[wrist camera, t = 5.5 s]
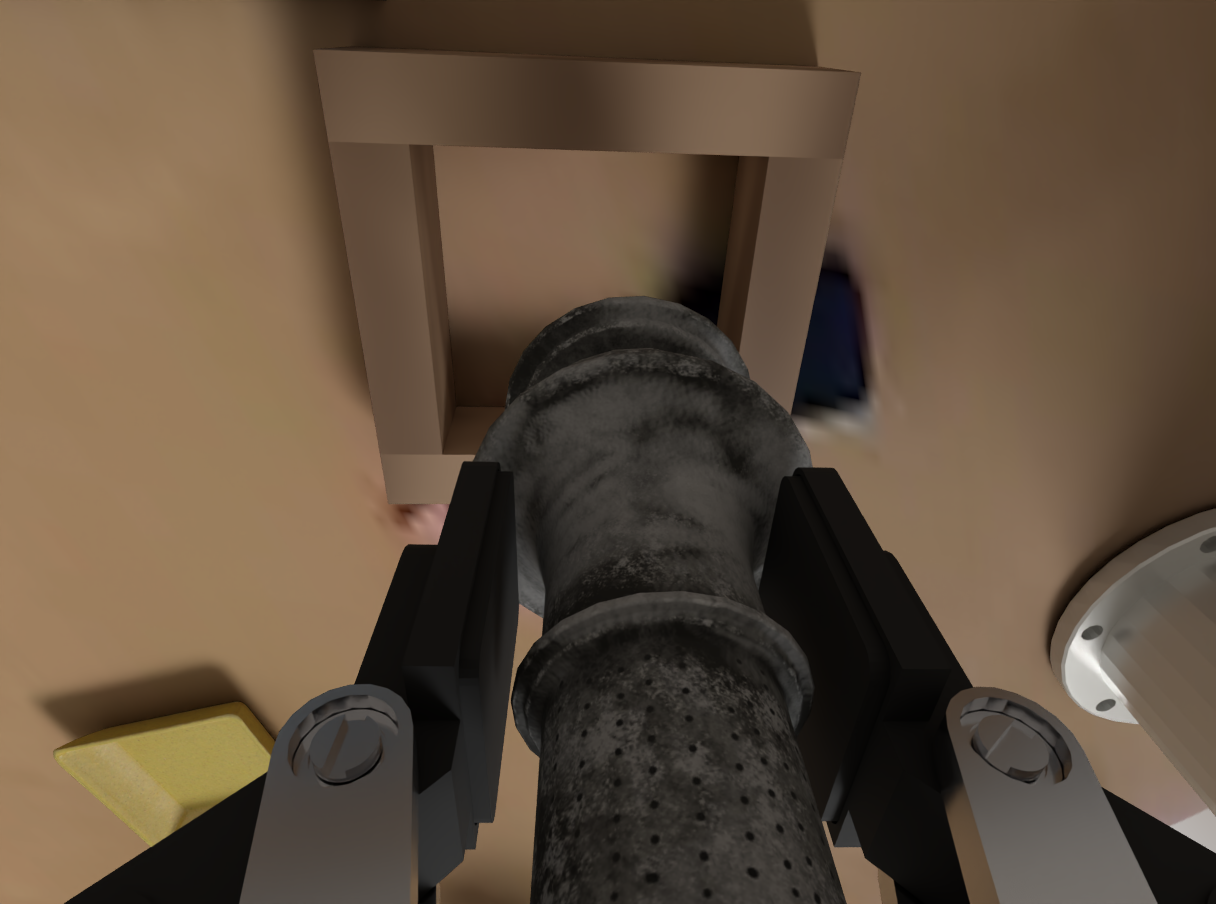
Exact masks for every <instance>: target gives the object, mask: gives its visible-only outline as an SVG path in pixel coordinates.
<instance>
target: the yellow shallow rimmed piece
mask: <svg viewBox="0 0 1216 904" xmlns="http://www.w3.org/2000/svg"><path fill="white" fill-rule="evenodd" d="M274 744H275V741H274V739H273V738H272V737H271V736H270V734H269V733H268V732H267V731H266V729H265V728H264V727H263V726H262V724H261V723H260V722H259V721H258V719H257V718H256V717H255V716H254V714H253V713H252V712H251V711H250V710H249V708H248V707H247V706H246V705H245V704H244V703H242V702H231V703H226V704H221V705H216V706H211V707H207V708H202V709H197V710H192V711H187V712H182V713H178V714H173V715H168V716H163V717H158V718H154V719H149V720H144V721H139V722H135V723H130V724H125V725H120V726H115V727H110V728H107V729H104V730H100V731H97V732H94V733H92V734H89V735H86V736H83V737H81V738H78V739H76V740H74V741H72V742H69V743H67V744H65V745H63V746H61V747H59V748H57V749H55V750H54V751H53V755H54V758H55V760H56V761H57V763H58V764H59V765H60V766H61V767H62V768H63V769H64V770H66V771H67V772H68V773H69V774H70V775H71V776H72V777H73V778H75V779H76V780H77V781H78V782H79V783H80V784H81V785H82V786H84V787H85V788H86V789H87V790H88V791H89V792H91V793H92V794H93V795H94V796H95V797H96V798H97V799H98V800H99V801H101V802H102V803H103V804H104V805H105V806H106V807H107V808H108V809H109V810H111V811H112V812H113V813H114V814H115V815H116V816H117V817H118V818H120V819H121V820H122V821H123V822H124V823H125V824H126V825H127V826H128V827H129V828H130V829H132V830H133V831H134V832H135V833H136V834H137V835H138V836H139V837H140V838H142V839H143V840H144V841H145V842H146V843H147V844H148V845H149V846H150V847H152V846H153V845H155V844H156V843H158V842H159V841H161V840H162V839H164V838H166V837H167V836H169V835H170V834H172V833H173V832H175V831H176V830H178V829H179V828H181V827H183V826H184V825H186V824H187V823H189V822H190V821H192V820H193V819H195V818H196V817H198V816H199V815H201V814H203V813H204V812H206V811H207V810H209V809H210V808H212V807H213V806H215V805H216V804H218V803H220V802H221V801H223V800H224V799H226V798H227V797H229V796H230V795H232V794H233V793H235V792H236V791H238V790H240V789H241V788H243V787H244V786H246V785H247V784H249V783H250V782H252V781H253V780H255V779H257V778H258V777H260V776H261V775H263V774H264V773H266V772H267V771H268V767H269V762H270V758H271V753H272V749H273V747H274Z"/></svg>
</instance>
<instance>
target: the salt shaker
mask: <svg viewBox="0 0 1216 904" xmlns="http://www.w3.org/2000/svg"><path fill="white" fill-rule="evenodd" d="M473 461H483V462H499V463H500V467H501V471H513V475H514V495H515V519H516V544H517V568H518V592H519V604H521V605H523V606H524V607H526V608H527V609H529V610H531V611H532V612H534V613H535V614H537V615H539V616H540V617H542V618H543V630H542V637H541V638H540V639H538V640H537V641H536V642H535V643H534V644H533V646H532V647H531V649H530V650H529V652H528V653H527V655H526V656H525V658H524V659H523V661H522V662H521V664H520V665H519V667H518V668H517V673H516V677H515V682H514V686H513V691H512V696H511V705H512V710H513V715H514V720H515V726H516V728H517V730H518V731H519V733H520V734H521V736H522V738H523V739H524V741H525V742H526V744H527V746H528V747H529V749H530V750H531V751H532V752H534V753H535V754H536V755H537V756H538V757H539V758H540V762H539V777H538V792H537V807H536V822H535V837H534V852H533V867H532V882H531V897H530V904H847V903H846V900H845V897H844V894H843V890H842V887H841V884H840V880H839V877H838V874H837V870H836V867H835V864H834V860H833V857H832V854H831V851H830V847H829V844H828V841H827V837H826V834H825V831H824V827H823V824H822V821H821V817H820V814H819V811H818V808H817V804H816V801H815V798H814V794H813V791H812V788H811V784H810V781H809V778H808V774H807V771H806V768H805V764H804V761H803V758H802V755H801V751H800V748H799V745H798V741H797V736H798V735H799V733H800V731H801V729H802V728H803V726H804V724H805V722H806V721H807V719H808V717H809V715H810V713H811V708H812V702H813V695H814V689H815V686H814V682H813V678H812V674H811V670H810V666H809V662H808V659H807V656H806V655H805V653H804V652H803V650H802V649H801V648H800V646H799V645H798V643H797V642H796V641H795V639H794V638H793V637H792V635H791V634H790V632H789V631H787V630H786V629H785V628H783V627H782V626H781V625H779V624H778V623H776V622H775V621H774V620H772V619H771V618H769V617H768V616H767V615H765V611H764V608H763V605H762V602H761V599H760V595H759V592H758V590H759V585H760V580H761V575H762V571H763V566H764V561H765V556H766V551H767V546H768V541H769V536H770V532H771V527H772V522H773V517H774V512H775V507H776V502H777V497H778V492H779V488H780V483H781V480H782V478H783V477H784V476H792V475H793V472H794V471H795V469H796V468H798V467H812V461H811V456H810V451H809V449H808V447H807V445H806V443H805V441H804V440H803V438H802V436H801V434H800V433H799V431H798V429H797V427H796V425H795V424H794V422H793V420H792V418H791V416H790V415H789V413H788V411H786V410H785V409H784V408H783V407H782V406H781V405H780V404H779V403H778V402H777V401H776V400H775V399H774V398H772V397H771V396H770V395H769V394H768V393H767V392H766V391H765V390H764V389H763V388H762V387H761V386H759V385H758V384H757V383H756V382H755V381H753V380H751V379H750V376H749V371H748V368H747V366H746V365H745V363H744V361H743V359H742V358H741V356H740V354H739V352H738V351H737V349H736V347H735V345H734V344H733V342H732V340H730V339H729V338H728V337H727V336H726V335H725V334H724V333H723V332H722V331H721V330H720V329H719V328H718V327H717V326H716V325H715V324H714V323H712V322H711V321H710V320H709V319H708V318H706V317H704V316H702V315H700V314H698V313H696V312H694V311H692V310H691V309H689V308H687V307H685V306H683V305H681V304H679V303H675V302H670V301H665V300H661V299H656V298H651V297H646V296H635V297H614V298H606V299H603V300H600V301H597V302H593V303H590V304H587V305H584V306H581V307H578V308H575V309H573V310H571V311H570V312H568V313H567V314H565V315H563V316H562V317H560V318H559V319H557V320H556V321H554V322H552V323H551V324H549V325H548V326H546V327H545V328H544V329H543V330H542V331H541V332H540V334H539V335H538V336H537V337H536V338H535V339H534V340H533V341H532V342H531V343H530V345H529V346H528V347H527V348H526V349H525V350H524V351H523V353H522V355H521V357H520V359H519V362H518V364H517V366H516V368H515V370H514V372H513V374H512V376H511V378H510V381H509V387H508V393H507V399H506V405H505V411H504V412H503V413H502V414H501V415H500V416H499V417H498V418H497V419H496V420H495V421H494V422H493V424H492V425H491V426H490V427H489V429H488V431H487V433H486V435H485V437H484V439H483V441H482V443H481V445H480V447H479V449H478V451H477V453H476V455H475V457H474V459H473Z"/></svg>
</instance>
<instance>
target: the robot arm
mask: <svg viewBox="0 0 1216 904" xmlns="http://www.w3.org/2000/svg"><path fill="white" fill-rule="evenodd" d="M758 592H759V595H760V599H761V602H762V605H763V608H764V611H765V615H767V616H768V617H769V618H771V619H772V620H774V621H775V622H776V623H778V624H779V625H781V626H782V627H783V628H785V629H786V630H787V631H789V632H790V634H791V635H792V637H793V638H794V639H795V641H796V642H797V643H798V645H799V646H800V648H801V649H802V650H803V652H804V653H805V655H806V656H807V659H808V662H809V666H810V670H811V674H812V678H813V682H814V686H815V689H814V695H813V702H812V708H811V713H810V715H809V717H808V719H807V721H806V722H805V724H804V726H803V728H802V729H801V731H800V733H799V735H798V736H797V741H798V745H799V748H800V751H801V755H802V758H803V761H804V764H805V768H806V771H807V774H808V778H809V781H810V784H811V788H812V791H813V794H814V798H815V801H816V804H817V808H818V811H819V814H820V817H821V821H826V822H827V825H828V829H829V832H830V835H831V838H832V842H833V845H834V847H861V848H862V850H863V853H864V856H865V858H866V859H867V860H868V861H870V862H871V863H872V864H874V865H875V866H876V867H877V868H878V882H879V888H880V894H881V900H882V904H1216V853H1214V852H1213V851H1211V850H1209V849H1207V848H1206V847H1204V846H1202V845H1200V844H1199V843H1197V842H1195V841H1193V840H1192V839H1190V838H1188V837H1187V836H1185V835H1183V834H1181V833H1180V832H1178V831H1176V830H1174V829H1173V828H1171V827H1170V826H1168V825H1166V824H1164V823H1163V822H1161V821H1159V820H1157V819H1156V818H1154V817H1152V816H1151V815H1149V814H1147V813H1145V812H1144V811H1142V810H1140V809H1139V808H1137V807H1135V806H1133V805H1132V804H1130V803H1128V802H1127V801H1125V800H1123V799H1121V798H1120V797H1118V796H1116V795H1114V794H1113V793H1111V792H1109V791H1108V790H1106V789H1104V788H1102V787H1101V785H1100V783H1099V781H1098V779H1097V777H1096V775H1095V773H1094V771H1093V769H1092V767H1091V765H1090V763H1089V761H1088V758H1087V756H1086V754H1085V752H1084V750H1083V749H1082V747H1081V746H1080V744H1079V743H1078V741H1077V739H1076V738H1075V736H1074V735H1073V733H1072V732H1071V731H1070V730H1069V729H1068V728H1067V727H1066V726H1065V725H1064V724H1063V723H1062V722H1061V721H1060V720H1059V719H1058V718H1057V717H1056V716H1055V715H1053V714H1052V713H1050V712H1049V711H1047V710H1046V709H1044V708H1043V707H1041V706H1040V705H1039V704H1037V703H1036V702H1033V701H1031V700H1029V699H1027V698H1025V697H1023V696H1021V695H1019V694H1016V693H1014V692H1010V691H1006V690H1002V689H999V688H995V687H973V686H972V684H971V683H970V681H969V679H968V678H967V676H966V674H965V673H964V671H963V669H962V668H961V666H960V664H959V663H958V661H957V659H956V658H955V656H954V654H953V653H952V651H951V649H950V648H949V646H948V644H947V643H946V641H945V639H944V637H943V636H942V634H941V632H940V631H939V629H938V627H937V626H936V624H935V622H934V621H933V619H932V617H931V616H930V614H929V612H928V611H927V609H926V607H925V606H924V604H923V602H922V601H921V599H920V597H919V596H918V594H917V592H916V591H915V589H914V587H913V586H912V584H911V582H910V581H909V579H908V577H907V576H906V574H905V572H904V571H903V569H902V567H901V566H900V564H899V562H898V561H897V559H896V558H895V557H894V556H893V554H892V553H890V552H888V551H883V550H882V548H881V546H880V545H879V543H878V541H877V539H876V538H875V536H874V534H873V533H872V531H871V529H870V527H869V526H868V524H867V522H866V520H865V519H864V517H863V515H862V514H861V512H860V510H859V508H858V507H857V505H856V503H855V502H854V500H853V498H852V496H851V495H850V493H849V491H848V490H847V488H846V486H845V484H844V483H843V481H842V479H841V478H840V476H839V474H838V472H837V471H836V470H835V469H834V468H813V467H798V468H796V469H795V471H794V472H793V475H792V476H784V477H783V478H782V480H781V483H780V488H779V492H778V497H777V502H776V507H775V512H774V517H773V522H772V527H771V532H770V536H769V541H768V546H767V551H766V556H765V561H764V566H763V571H762V575H761V580H760V585H759V590H758ZM518 614H519V592H518V568H517V544H516V519H515V495H514V475H513V471H501V467H500V463H499V462H483V461H464V462H463V463H462V465H461V468H460V472H459V475H458V478H457V482H456V485H455V489H454V492H453V495H452V499H451V502H450V505H449V509H448V512H447V515H446V519H445V522H444V525H443V529H442V532H441V535H440V539H439V542H438V545H414V544H408V545H407V546H406V547H405V548H404V550H403V552H402V555H401V557H400V560H399V563H398V566H397V568H396V571H395V574H394V577H393V579H392V582H391V585H390V588H389V590H388V593H387V596H386V599H385V601H384V604H383V607H382V610H381V612H380V615H379V618H378V621H377V623H376V626H375V629H374V632H373V634H372V637H371V640H370V643H369V645H368V648H367V651H366V654H365V656H364V659H363V662H362V665H361V667H360V670H359V673H358V676H357V678H356V681H355V684H354V685H347V686H343V687H340V688H336V689H332V690H329V691H327V692H325V693H323V694H321V695H319V696H317V697H315V698H313V699H311V700H310V701H308V702H307V703H306V704H305V705H303V706H302V707H301V708H300V709H299V710H297V711H296V712H295V713H294V714H292V716H291V717H290V718H289V720H288V721H287V722H286V724H285V725H284V726H283V727H282V729H281V730H280V731H279V734H278V736H277V739H276V741H275V744H274V747H273V749H272V753H271V758H270V762H269V767H268V771H267V772H266V773H264V774H263V775H261V776H260V777H258V778H257V779H255V780H253V781H252V782H250V783H249V784H247V785H246V786H244V787H243V788H241V789H240V790H238V791H236V792H235V793H233V794H232V795H230V796H229V797H227V798H226V799H224V800H223V801H221V802H220V803H218V804H216V805H215V806H213V807H212V808H210V809H209V810H207V811H206V812H204V813H203V814H201V815H199V816H198V817H196V818H195V819H193V820H192V821H190V822H189V823H187V824H186V825H184V826H183V827H181V828H179V829H178V830H176V831H175V832H173V833H172V834H170V835H169V836H167V837H166V838H164V839H162V840H161V841H159V842H158V843H156V844H155V845H153V846H152V847H150V848H149V849H147V850H146V851H144V852H142V853H141V854H139V855H138V856H136V857H135V858H133V859H132V860H130V861H129V862H127V863H125V864H124V865H122V866H121V867H119V868H118V869H116V870H115V871H113V872H112V873H110V874H109V875H107V876H105V877H104V878H102V879H101V880H99V881H98V882H96V883H95V884H93V885H92V886H90V887H88V888H87V889H85V890H84V891H82V892H81V893H79V894H78V895H76V896H75V897H73V898H72V899H70V900H68V901H67V902H66V903H64V904H440V881H441V880H442V879H443V878H444V877H446V876H447V875H448V874H449V873H450V872H451V871H452V870H453V869H455V868H456V867H457V866H458V865H459V864H460V863H461V862H462V861H463V860H464V853H465V849H475V848H476V841H477V834H478V827H479V823H493V821H494V816H495V810H496V802H497V793H498V785H499V776H500V768H501V760H502V751H503V743H504V735H505V726H506V718H507V709H508V701H509V693H510V684H511V676H512V668H513V659H514V651H515V643H516V634H517V626H518ZM1050 661H1051V665H1052V669H1053V673H1054V675H1055V677H1056V678H1057V680H1058V681H1059V683H1060V684H1061V686H1062V687H1063V689H1064V690H1065V691H1066V693H1067V694H1068V695H1069V696H1070V697H1071V699H1072V700H1073V701H1074V702H1075V703H1076V704H1077V705H1078V706H1079V707H1081V708H1082V709H1084V710H1085V711H1087V712H1089V713H1090V714H1093V715H1095V716H1098V717H1102V718H1105V719H1108V720H1112V721H1117V722H1126V723H1134V724H1140V725H1141V727H1142V728H1143V729H1144V730H1145V731H1146V733H1147V734H1148V735H1149V736H1150V738H1151V739H1152V740H1153V741H1154V742H1155V744H1156V745H1157V746H1158V747H1159V748H1160V750H1161V751H1162V752H1163V753H1164V755H1165V756H1166V757H1167V758H1168V759H1169V761H1170V762H1171V763H1172V764H1173V765H1174V767H1175V768H1176V769H1177V770H1178V771H1179V773H1180V774H1181V775H1182V776H1183V778H1184V779H1185V780H1186V781H1187V782H1188V784H1189V785H1190V786H1191V787H1192V788H1193V790H1194V791H1195V792H1196V793H1197V794H1198V796H1199V797H1200V798H1201V799H1202V801H1203V802H1204V803H1205V804H1206V805H1207V807H1208V808H1209V809H1210V810H1211V811H1212V813H1213V814H1214V815H1215V816H1216V508H1215V509H1211V510H1208V511H1204V512H1201V513H1198V514H1195V515H1193V516H1190V517H1188V518H1185V519H1183V520H1181V521H1178V522H1176V523H1173V524H1171V525H1168V526H1166V527H1164V528H1163V529H1161V530H1159V531H1157V532H1155V533H1153V534H1151V535H1150V536H1148V537H1146V538H1144V539H1142V540H1140V541H1138V542H1137V543H1135V544H1134V545H1132V546H1131V547H1130V548H1128V549H1127V550H1125V551H1124V552H1122V553H1121V554H1119V555H1118V556H1117V557H1115V558H1114V559H1112V560H1111V561H1110V562H1109V563H1107V564H1106V565H1105V566H1104V567H1103V568H1102V569H1101V570H1099V571H1098V572H1097V573H1096V574H1095V575H1094V576H1093V577H1092V578H1090V579H1089V580H1088V581H1087V583H1086V584H1085V585H1084V586H1083V587H1082V588H1081V589H1080V591H1079V592H1078V593H1077V594H1076V595H1075V596H1074V598H1073V599H1072V600H1071V601H1070V603H1069V605H1068V606H1067V608H1066V610H1065V611H1064V613H1063V614H1062V616H1061V618H1060V619H1059V621H1058V624H1057V627H1056V630H1055V632H1054V635H1053V638H1052V641H1051V652H1050Z"/></svg>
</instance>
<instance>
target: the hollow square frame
mask: <svg viewBox="0 0 1216 904" xmlns="http://www.w3.org/2000/svg"><path fill="white" fill-rule="evenodd" d="M313 53H314V59H315V65H316V71H317V77H318V83H319V89H320V95H321V101H322V107H323V113H324V119H325V125H326V131H327V137H328V143H329V149H330V155H331V161H332V167H333V173H334V179H335V185H336V191H337V197H338V204H339V210H340V216H341V222H342V228H343V234H344V240H345V246H346V252H347V258H348V264H349V270H350V276H351V282H352V288H353V294H354V300H355V306H356V312H357V318H358V324H359V330H360V336H361V342H362V348H363V354H364V360H365V366H366V372H367V378H368V384H369V390H370V396H371V402H372V408H373V415H374V421H375V427H376V433H377V439H378V445H379V451H380V457H381V463H382V469H383V475H384V481H385V487H386V493H387V499H388V504H450V502H451V499H452V495H453V492H454V489H455V485H456V482H457V478H458V475H459V472H460V468H461V465H462V463H463V462H464V461H473V459H474V457H475V455H476V453H477V451H478V449H479V447H480V445H481V443H482V441H483V439H484V437H485V435H486V433H487V431H488V429H489V427H490V426H491V425H492V424H493V422H494V421H495V420H496V419H497V418H498V417H499V416H500V415H501V414H502V413H503V412H504V411H505V407H456V396H455V385H454V374H453V363H452V352H451V341H450V330H449V319H448V308H447V297H446V286H445V275H444V264H443V253H442V242H441V231H440V220H439V209H438V198H437V187H436V176H435V165H434V154H433V145H443V146H472V147H502V148H531V149H560V150H590V151H619V152H649V153H678V154H707V155H737V156H739V162H738V169H737V177H736V185H735V192H734V200H733V207H732V215H731V223H730V230H729V238H728V246H727V253H726V261H725V269H724V276H723V284H722V291H721V299H720V307H719V314H718V322H717V327H718V328H719V329H720V330H721V331H722V332H723V333H724V334H725V335H726V336H727V337H728V338H729V339H730V340H732V342H733V344H734V345H735V347H736V349H737V351H738V352H739V354H740V356H741V358H742V359H743V361H744V363H745V365H746V366H747V368H748V371H749V376H750V379H751V380H753V381H755V382H756V383H757V384H758V385H759V386H761V387H762V388H763V389H764V390H765V391H766V392H767V393H768V394H769V395H770V396H771V397H772V398H774V399H775V400H776V401H777V402H778V403H779V404H780V405H781V406H782V407H783V408H784V409H785V410H786V411H788V413H789V415H790V414H791V409H792V404H793V400H794V395H795V390H796V385H797V380H798V376H799V371H800V366H801V361H802V356H803V351H804V347H805V342H806V337H807V332H808V327H809V322H810V318H811V313H812V308H813V303H814V298H815V293H816V289H817V284H818V279H819V274H820V269H821V264H822V260H823V255H824V250H825V245H826V240H827V235H828V231H829V226H830V221H831V216H832V211H833V206H834V202H835V197H836V192H837V187H838V182H839V177H840V173H841V168H842V163H843V158H844V153H845V148H846V144H847V139H848V134H849V129H850V124H851V119H852V115H853V110H854V105H855V100H856V95H857V90H858V86H859V81H860V76H861V73H860V72H853V71H846V70H839V69H832V68H825V67H815V66H792V65H768V64H745V63H722V62H698V61H675V60H652V59H629V58H605V57H582V56H559V55H535V54H512V53H489V52H466V51H442V50H419V49H396V48H373V47H339V48H325V49H313Z"/></svg>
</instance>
